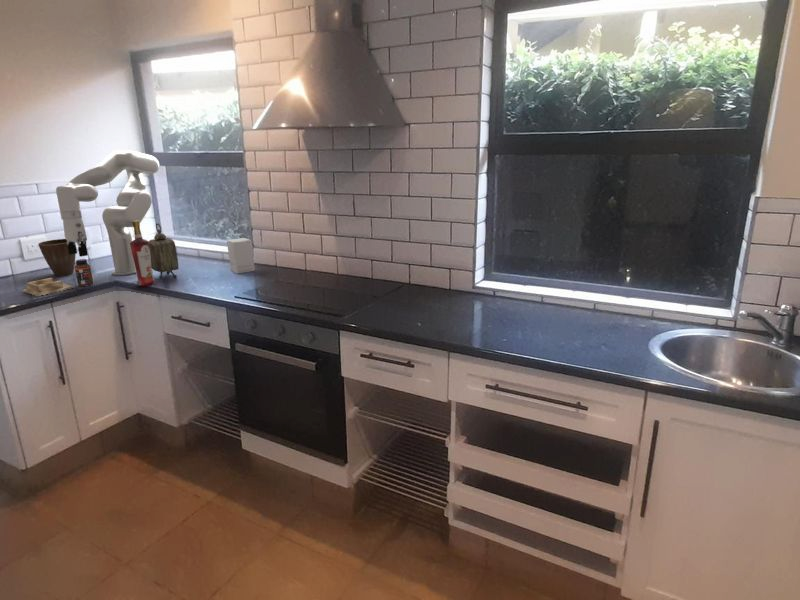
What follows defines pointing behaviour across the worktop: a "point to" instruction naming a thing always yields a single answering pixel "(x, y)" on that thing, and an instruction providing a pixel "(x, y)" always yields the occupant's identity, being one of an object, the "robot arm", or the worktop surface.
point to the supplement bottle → (83, 273)
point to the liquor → (141, 257)
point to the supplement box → (240, 255)
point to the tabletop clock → (163, 254)
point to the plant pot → (58, 256)
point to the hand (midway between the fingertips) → (78, 254)
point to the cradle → (45, 287)
